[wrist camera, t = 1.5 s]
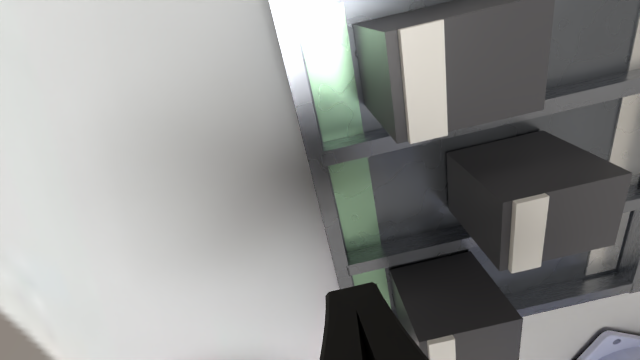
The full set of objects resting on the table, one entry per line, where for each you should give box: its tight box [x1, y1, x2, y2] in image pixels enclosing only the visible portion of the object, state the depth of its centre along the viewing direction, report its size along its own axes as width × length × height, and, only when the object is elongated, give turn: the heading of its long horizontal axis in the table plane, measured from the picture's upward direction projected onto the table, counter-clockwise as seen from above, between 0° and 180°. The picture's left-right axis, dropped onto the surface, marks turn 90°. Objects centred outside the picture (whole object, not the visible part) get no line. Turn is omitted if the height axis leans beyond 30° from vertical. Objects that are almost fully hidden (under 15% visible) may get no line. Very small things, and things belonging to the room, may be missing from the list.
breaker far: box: [390, 251, 523, 360], centre depth 15 cm, size 4×3×4 cm
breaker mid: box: [447, 130, 632, 273], centre depth 13 cm, size 4×3×4 cm
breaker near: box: [353, 0, 555, 144], centre depth 10 cm, size 4×3×4 cm
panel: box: [269, 0, 640, 322], centre depth 15 cm, size 15×17×2 cm
